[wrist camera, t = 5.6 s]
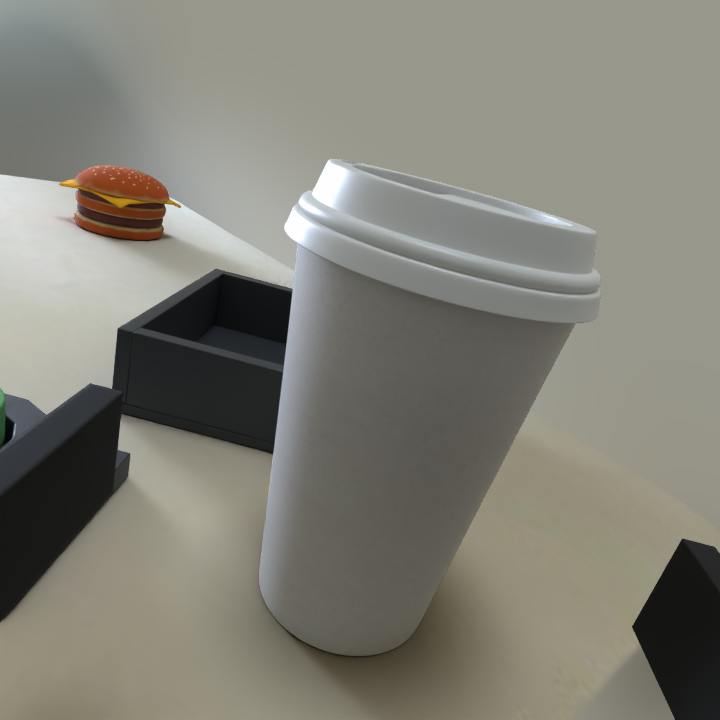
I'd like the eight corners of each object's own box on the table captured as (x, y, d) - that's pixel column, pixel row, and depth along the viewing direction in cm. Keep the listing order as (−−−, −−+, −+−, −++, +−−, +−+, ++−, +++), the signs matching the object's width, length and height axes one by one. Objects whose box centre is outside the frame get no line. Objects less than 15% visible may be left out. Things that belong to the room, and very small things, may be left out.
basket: (393, 375, 43) (409, 319, 41) (383, 482, 29) (408, 404, 27) (206, 326, 43) (215, 268, 41) (109, 410, 29) (117, 327, 27)
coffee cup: (345, 483, 28) (432, 177, 23) (506, 615, 22) (673, 249, 17) (167, 549, 21) (230, 133, 16) (335, 765, 16) (524, 229, 10)
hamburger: (51, 218, 60) (54, 154, 57) (121, 217, 68) (126, 160, 66) (119, 244, 57) (125, 177, 55) (183, 239, 65) (190, 181, 63)
